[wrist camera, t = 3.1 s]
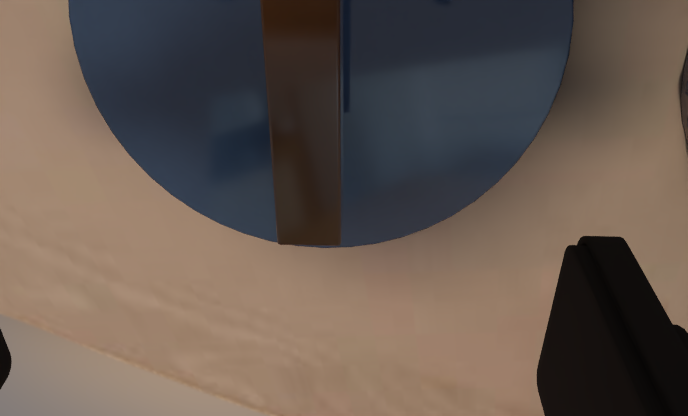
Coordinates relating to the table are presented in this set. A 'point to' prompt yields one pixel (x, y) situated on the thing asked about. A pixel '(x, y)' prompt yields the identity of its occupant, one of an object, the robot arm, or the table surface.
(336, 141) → the lid
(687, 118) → the crock
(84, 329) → the table surface
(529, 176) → the table surface
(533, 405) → the table surface
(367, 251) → the table surface
